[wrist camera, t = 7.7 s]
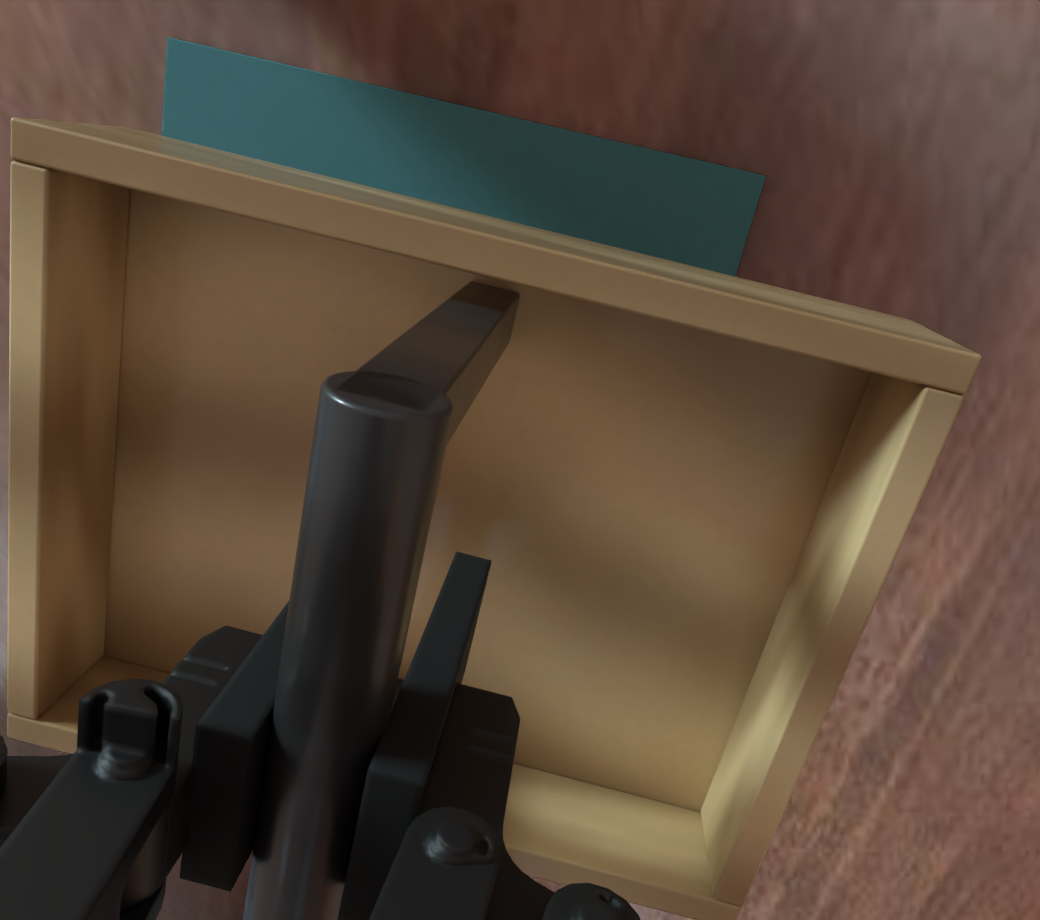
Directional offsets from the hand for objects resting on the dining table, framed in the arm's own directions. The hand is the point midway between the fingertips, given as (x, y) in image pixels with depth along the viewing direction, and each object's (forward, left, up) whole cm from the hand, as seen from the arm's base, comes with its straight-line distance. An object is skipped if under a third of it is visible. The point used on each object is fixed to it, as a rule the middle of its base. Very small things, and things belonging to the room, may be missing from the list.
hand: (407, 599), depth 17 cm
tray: (0, 0, -5) cm, 5 cm away
